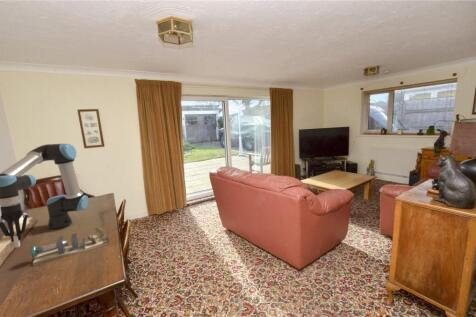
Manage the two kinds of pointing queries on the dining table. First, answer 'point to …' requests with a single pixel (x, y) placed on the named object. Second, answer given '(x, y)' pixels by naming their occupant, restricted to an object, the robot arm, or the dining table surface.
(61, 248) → the grey angular blocks
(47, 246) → the shaft
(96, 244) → the board
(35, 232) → the dining table surface
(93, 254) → the dining table surface
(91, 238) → the bone
